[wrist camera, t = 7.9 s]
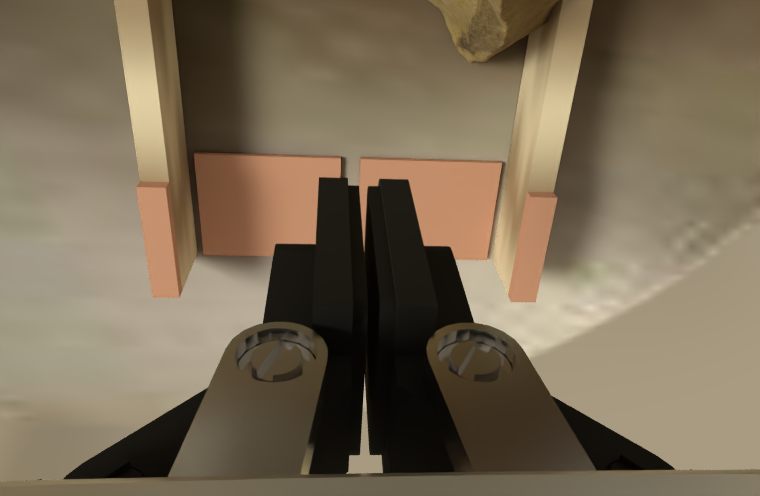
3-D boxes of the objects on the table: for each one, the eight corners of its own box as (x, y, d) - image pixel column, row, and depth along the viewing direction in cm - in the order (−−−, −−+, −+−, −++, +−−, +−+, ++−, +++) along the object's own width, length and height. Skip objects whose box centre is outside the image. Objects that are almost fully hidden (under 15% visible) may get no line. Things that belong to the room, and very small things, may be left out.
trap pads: (161, 151, 25) (136, 186, 22) (531, 162, 26) (557, 197, 23) (173, 252, 27) (152, 297, 24) (514, 258, 28) (535, 302, 25)
